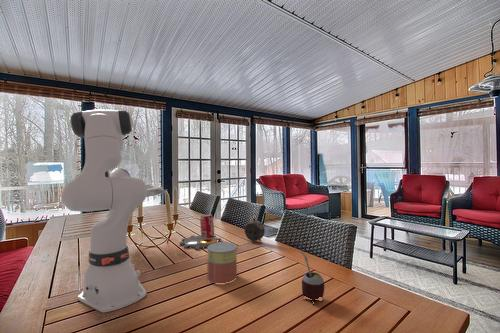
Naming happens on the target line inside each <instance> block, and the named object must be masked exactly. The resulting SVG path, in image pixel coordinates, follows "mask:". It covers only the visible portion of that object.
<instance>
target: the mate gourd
mask: <svg viewBox="0 0 500 333" xmlns="http://www.w3.org/2000/svg"><path fill="white" fill-rule="evenodd" d="M299 252H300V253H301V254H302V255H303V257H304V261H305V263H306V266H307V270H308V272H306V273H305V274H304V275H303V276H302V279H301V291H302V292H301V293H302V295H303V296H302V297H304V296H306V297H308V298H310V299H312V300H313V302H314V300H315V299H318V298H319V297H322V298H324V297H323V296H324V294H325V280H324V278H323V276H322V275H321V274H320V273H318V272H314V271H313V272H311V267H310V264H309V262H308V257H307V256H306V254H305V253H304V252H303V251H302V249H301V248H300V249H299Z"/></svg>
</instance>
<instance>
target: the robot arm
mask: <svg viewBox="0 0 500 333" xmlns="http://www.w3.org/2000/svg"><path fill="white" fill-rule="evenodd" d="M133 121H134V120H133V118H132V116H131V114H130V113H129V112H128V111H127V110H125V109H118V110H117V109H116V110H115V109H91V110H90V109H89V110H84V111H83V110H79V111H76V112H73V114H71V116H70V121H69V125H70V126H69V127H70V128H71V130H72V132H73V133H74V135H76V136H77V138H78V137H79V138H83V139H84V148H85V150H84V151H85V158H84V159H85V160H84V166H83V168H82V170H81V171H80V172H79V174H78V175H77V176H76V177H75V178H74V179H72V180H70V181H69V182H67V184H65V186H64V188H63V190H62V194H61V199H62V200H61V201H62V202H63V205H64V207H66V209H68V210H69V211H70V212H82V213H83V212H87V213H88V212H95V211H96V212H97V211H104V210H105V211H106V210H109V211H108V214H107V215H106V216H105V217H104V218H102V219H101V220H98V221H97V222H96V223H95V224H94V225H93V226H92V227H91V229H90V231H89V240H90V241H89V245H90V246H89V247H90V248H89V251H88V256H87V257H88V263H89V264H88V266H87V268H86V269H85V271H83V272H84V273H83V283H82V292H81V293H80V294H78V295H77V300H78V301H80V302H81V303H83V304H85V305H87V306H89V307H91V308H93V309H94V310H96V311H98V312H100V313H109V312H113V311H117V310H120V309H122V308H125V307H127V306H130V305H132V304H134V303H136V302H138V301H140V300H142V299H143V298H144V297H146V296H147V291H146V289H145V288H144V286H143V285H142V283H141V281H140V280H139V278H140V277H141V270H139V269H138V270H136V269H135V267H136V265H135V264H134V263H132V261H131V259H130V250H129V246H128V245H127V244H128V243H127V241H128V240H127V239H128V237H127V235H128V225H129V222H130V218H131V217H132V215H133V213H134V212H135V210H136V209H137V208H138V207H139V206H140V205H141V204H143V203H144V201H145V200H146V198H148V197H154V196H158V195H162V194H163V195H164V194H167V190H166V189H164V187H163V186H157V185H151V184H146V183H145V181H144V180H143V179H142V178H139V177H131V174H130V173H129V171H128V170H126V169H124V168H121V167H119V165H120V164H121V162H122V159H123V158H122V151H123V148H124V147H123V145H124V144H123V143H124V139H123V136H126V135H129V134H131V132H132V130H133V127H134V122H133ZM111 170H112V171H111Z"/></svg>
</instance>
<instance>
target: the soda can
mask: <svg viewBox="0 0 500 333" xmlns="http://www.w3.org/2000/svg"><path fill="white" fill-rule="evenodd" d="M199 222H200V225H199V226H200V236H201V238H202V239H203V240H211V239H213V238H214V236H215V227H214V217H213V215H212V213H211V214H210V213H209V214H202V215H200V219H199Z"/></svg>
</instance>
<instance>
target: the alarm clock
mask: <svg viewBox="0 0 500 333" xmlns="http://www.w3.org/2000/svg"><path fill="white" fill-rule="evenodd" d="M254 214H255V217H253V215H254ZM250 217H251V218H252V219H253V220H250V221H248V222H247V223H246V224H245V226H244V234H245V236H246V238H247V240H248V239H249V241H253V242H257V241H259V242H260V241H261V242H262V240H261V239H262V238H264V235H265V230H266V229H265V226H264V225H263V223H262V222H261V221H260V220H257V218H258V214H257V213H255V212H253V213H252V214H251V216H250Z"/></svg>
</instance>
